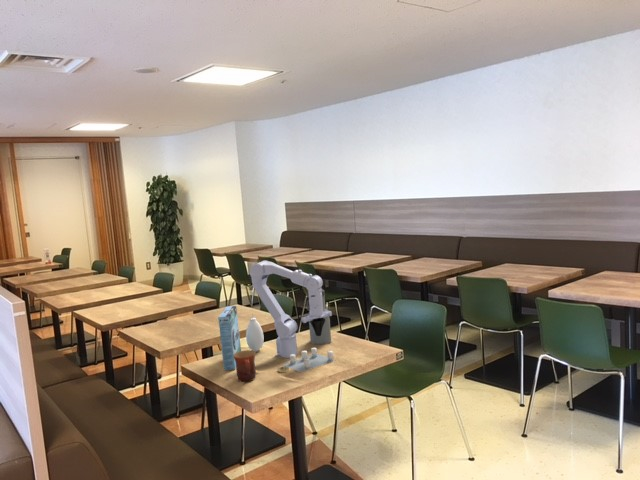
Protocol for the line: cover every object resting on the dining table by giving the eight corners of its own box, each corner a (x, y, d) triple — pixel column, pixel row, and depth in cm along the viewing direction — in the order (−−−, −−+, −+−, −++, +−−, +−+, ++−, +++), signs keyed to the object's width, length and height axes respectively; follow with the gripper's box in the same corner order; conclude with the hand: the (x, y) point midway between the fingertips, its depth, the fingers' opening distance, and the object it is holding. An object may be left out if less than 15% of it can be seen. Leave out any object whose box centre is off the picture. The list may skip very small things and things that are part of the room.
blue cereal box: (235, 370, 215) (229, 316, 213) (222, 370, 215) (217, 317, 213) (241, 354, 235) (237, 305, 232) (230, 355, 235) (225, 306, 232)
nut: (276, 372, 208) (275, 368, 208) (284, 370, 211) (284, 365, 211) (282, 375, 205) (281, 370, 205) (290, 373, 207) (290, 368, 207)
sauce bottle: (244, 351, 239) (240, 313, 237) (258, 347, 244) (255, 309, 242) (253, 354, 233) (250, 315, 231) (267, 350, 238) (264, 312, 236)
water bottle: (323, 347, 236) (318, 287, 233) (306, 344, 242) (301, 286, 239) (335, 340, 245) (330, 282, 242) (318, 338, 250) (313, 281, 247)
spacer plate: (282, 366, 215) (281, 356, 214) (317, 355, 225) (316, 345, 225) (300, 374, 204) (299, 363, 204) (336, 362, 215) (335, 352, 215)
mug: (234, 377, 207) (231, 352, 206) (256, 373, 209) (253, 349, 208) (238, 388, 195) (235, 361, 194) (261, 383, 198) (258, 357, 196)
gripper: (307, 309, 212) (310, 341, 213) (335, 302, 220) (337, 333, 222) (297, 306, 218) (300, 338, 219) (325, 300, 226) (327, 330, 228)
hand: (318, 335), depth 221 cm, fingers closed
